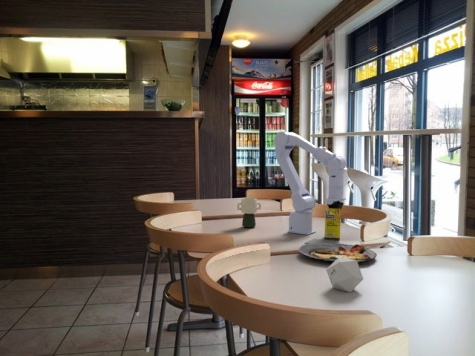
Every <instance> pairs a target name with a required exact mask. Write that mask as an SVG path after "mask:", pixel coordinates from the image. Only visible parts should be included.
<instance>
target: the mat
mask: <svg viewBox="0 0 475 356" xmlns="http://www.w3.org/2000/svg"><path fill="white" fill-rule="evenodd" d="M315 243H335V244H336V243H337V244H340V241H339V240H338V241H336V240H331V239H321V238H316V237H315V238H312V239H311V240H308V241H305V242H304V244H303V245H306V244H315Z"/></svg>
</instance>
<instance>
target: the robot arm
mask: <svg viewBox="0 0 475 356" xmlns="http://www.w3.org/2000/svg"><path fill="white" fill-rule="evenodd" d="M273 144H274V152H275V153H274V155H275V158H276V161H277V163H278V165H279V167H280V169H281V171H282V174H283V176H284V178H285V179H286V182H287V184H288V187H289V189H290V190H291V197H290V199H291V202H292V208H293V209H294V210H292V211H291V212H289V216H288V231H287V232H288V233H292V234H300V235H306V236H307V235H308V236H309V235H311V234H314V233H316V232H317V231H316V230H313V211H314V210H313V209H314V207H315V206H316V199H315V197H314V196H313V195H311V194H310V192H309V190H307V189H306V188H305V187H304V184H303V182H302V180H301V179H300V176H299V175H298V172H297V170H296V168H295V166H294V163H293V161H292V159H291V157H290V153H291V151H292V150H293V149H294V147H295V146H297V147H299V148H301V149H302V150H304V151H307V152H308V153H310V154H312V158H313V159H314V160H315V161H317V162H319V163H320V164H322V165H324V166H325V167H326V168H327V170H328V194H327V195H328V197H327V199H326V203H325V204H326V206H327V208H333V209H341V210H342V208H343V206H344V204H345V203H344V202H343V201H346V198H347V197H345V195H344V169H346V166H347V162H346V160H345V159H344V158H343V156H341V155H339V156H337V154H336V153H334V152H331V151H329V150H328V148H327V147H326V146H318V147H317V146H316V145H315V144H312V143H311V142H310V141H308V140H307V139H305V138H303V137H302V136H300V135H299V134H297V133H295V132H293V131H290V132H287V131H279V132H277V133H276V134H275V135H274V138H273Z"/></svg>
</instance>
